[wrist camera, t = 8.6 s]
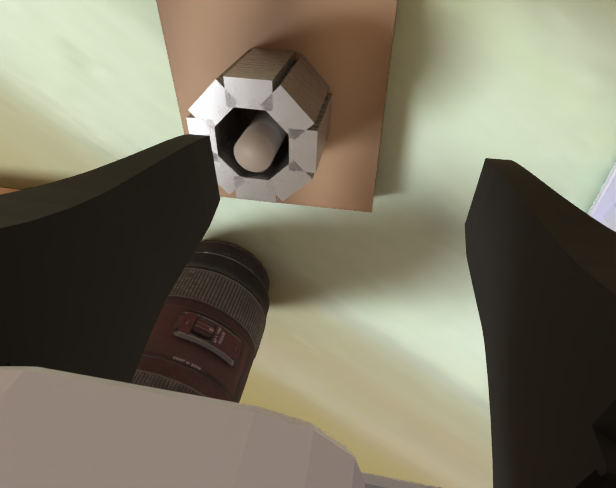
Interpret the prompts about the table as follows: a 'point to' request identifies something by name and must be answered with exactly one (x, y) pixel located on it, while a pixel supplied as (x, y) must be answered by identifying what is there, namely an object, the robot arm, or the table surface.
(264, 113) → the shaft stand
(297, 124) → the ring
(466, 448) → the table surface
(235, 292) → the camera lens
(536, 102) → the table surface
